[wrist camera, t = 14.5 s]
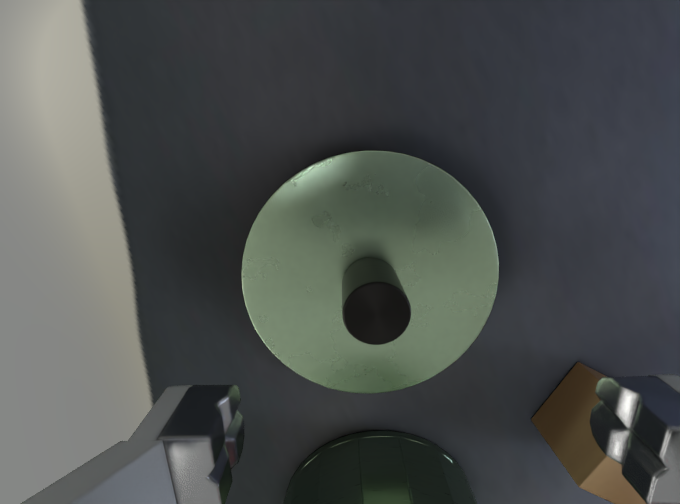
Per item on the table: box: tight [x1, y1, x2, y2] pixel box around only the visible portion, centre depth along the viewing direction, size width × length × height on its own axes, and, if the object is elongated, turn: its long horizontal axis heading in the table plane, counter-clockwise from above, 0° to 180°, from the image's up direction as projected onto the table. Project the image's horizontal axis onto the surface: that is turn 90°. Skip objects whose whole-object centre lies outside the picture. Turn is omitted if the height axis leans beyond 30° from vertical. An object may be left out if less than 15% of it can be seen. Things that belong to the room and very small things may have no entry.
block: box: [531, 362, 646, 504], centre depth 19 cm, size 4×4×4 cm
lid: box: [241, 150, 499, 393], centre depth 17 cm, size 13×13×5 cm
